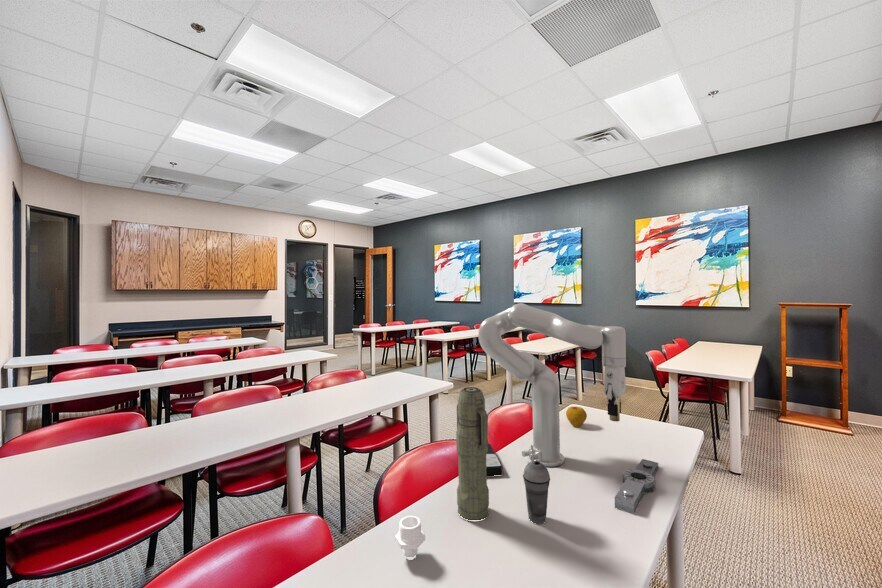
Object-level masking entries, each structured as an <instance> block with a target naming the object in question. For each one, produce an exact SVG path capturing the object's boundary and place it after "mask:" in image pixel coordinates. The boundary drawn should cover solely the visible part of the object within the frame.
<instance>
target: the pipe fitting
mask: <svg viewBox="0 0 882 588" xmlns="http://www.w3.org/2000/svg"><path fill="white" fill-rule="evenodd" d="M398 522H399V524H398V532H397V533H396V534H395V536H394V538H395V539H394V540H395V541H396V543H397V545H398V547H399V548H400V549H401V550H403V557H404V556H406V557H414V556H415V555H417V556H418V548H419V547H420V546H421V545H422V544H423V543H424V542H425V541H426V534H425V533H424V531H423V530H422V520H421V519H420V518H419V517H418V516H415V515H407V516H404V517H402V518H401V519H400V520H399V521H398Z"/></svg>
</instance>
